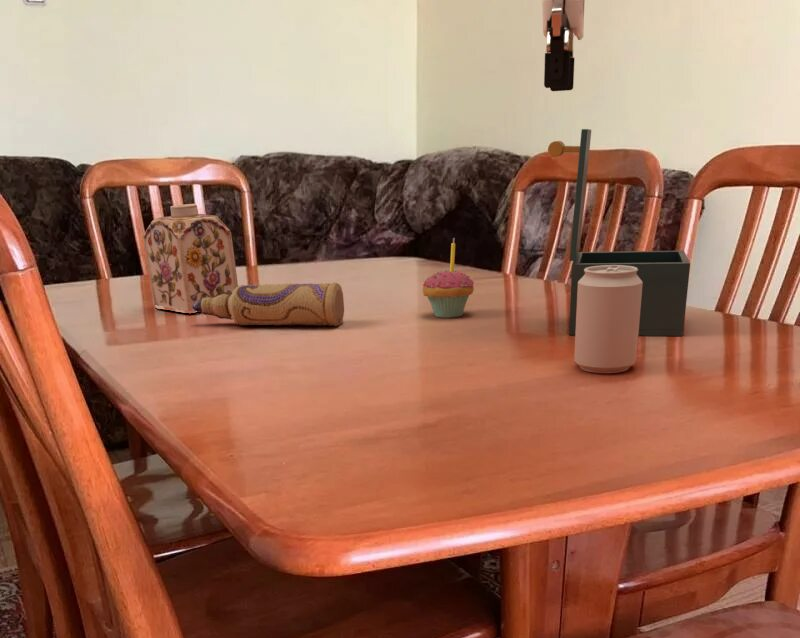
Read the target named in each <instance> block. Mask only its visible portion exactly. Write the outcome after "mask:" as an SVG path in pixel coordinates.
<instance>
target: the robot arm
mask: <svg viewBox="0 0 800 638" xmlns="http://www.w3.org/2000/svg"><path fill="white" fill-rule="evenodd" d="M541 3H542V5H541V6H542V8H541V9H542V11H541V12H542V34H543V36H544V37H545V39H546V45H545V47H546V48H545V49H546V51H545V53H544V69H543V70H544V72H543V73H544V74H543V75H544V76H543V86H544V87H545V88H546V89H550V91H551V92H566V91H567V92H568V91H573V90H574V80H575V78H574V77H575V57H574V37H576V38H577V40H578V41H581V40H582V39H583V38H584V29H585V28H584V27H585V26H584V25H585V0H542V2H541Z"/></svg>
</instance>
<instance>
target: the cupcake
mask: <svg viewBox="0 0 800 638" xmlns="http://www.w3.org/2000/svg"><path fill="white" fill-rule="evenodd" d="M455 239H456V238H455V237H453V238H452V243H451V245H450V259H449V260H450V261H449V262H450V263H449V270H444V271H443V270H440V271H438V272H436V273H434V274H433V275H431V276H429V277H427V278H426V279H425V280H424V283H423V284H422V294H423V295H422V296H424V297H427V299H428V301H429V303H430V306H431V309H432V313H433V315H434V317H436V318H442V319H450V318H451V319H452V318H458V317H461V316H463V315H464V313H465V312H464V311H465V307H466V305H467V301H468V299H469V297H470V296H471V295H472V294H473V293H474V290H475V287H474V284H475V282H474V280H473V279H472V278H470V277H471V276H469V275H467V274H465V273H463V272H460V271H456V270H455V257H456V243H455Z"/></svg>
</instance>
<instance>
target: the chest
mask: <svg viewBox="0 0 800 638" xmlns="http://www.w3.org/2000/svg"><path fill="white" fill-rule="evenodd" d="M601 265H625V266H633V267H636V268H637V269H638V271H637V273H636V274H637V276H638V277H639V278H640V279H641V281H642V282H643V284H642V296H641V309H640V321H639V333H638V337H683V336H684V329H685V320H686V319H685V318H686V309H687V300H688V292H689V291H688V289H689V281H690V273H691V272H690V270H691V261H690V260H689V258H688V256H687V254H686V252H685V250H638V251H637V250H634V251H633V250H631V251H627V250H626V251H623V250H622V251H579V252H578V254H577V257H576V260H575V261H572V264H571V275H570V278H571V279H570V283H571V284H570V298H569V299H570V301H569V321H568V323H569V324H568V335H569V336H575V332H576V312H577V292H578V281H579V280H580V279H581V278H582V277H583V276H584V275H585V272H584V269H585V268H587V267H591V266H601Z"/></svg>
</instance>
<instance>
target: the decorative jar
mask: <svg viewBox="0 0 800 638" xmlns="http://www.w3.org/2000/svg"><path fill="white" fill-rule="evenodd" d="M142 238H143V243H144V244H143V245H144V249H145V256H146V264H147V271H148V277H149V282H150V283H149V284H150V288H151V289H150V290H151V295H152V299H153V305H154V306H155V305H157V306H163V307H168V308H173V309H178V310H183V311H194V309H193V308H192V307H193V304H194V302H196V301H197V300H202V299H203V298H206V297H211V298H215V297H217V296H219V295H224V294H226V295H227V294H229V295H232V293H233V291H234V289H235V288H236V287H238V286H239V283H238V275H237V274H238V273H237V266H236V259H235V252H234V244H233V237H232V232H231V230H230V229H229V227H228V226H227V224H225V223H224V222H223V220H221V219H220V217H219V216H218V215H213V214H209V213H208V214H207V213H206V214H204V213H199V209H198V205H197V203H188V204H187V203H186V204H176V205H171V206H170V215H168V216H167V215H166V216H161V217H156V218H155V219H153V220H152V221H151V222H150V224H149V225H148V227H147V228H146V230H145V232H144V234H143V237H142Z"/></svg>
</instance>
